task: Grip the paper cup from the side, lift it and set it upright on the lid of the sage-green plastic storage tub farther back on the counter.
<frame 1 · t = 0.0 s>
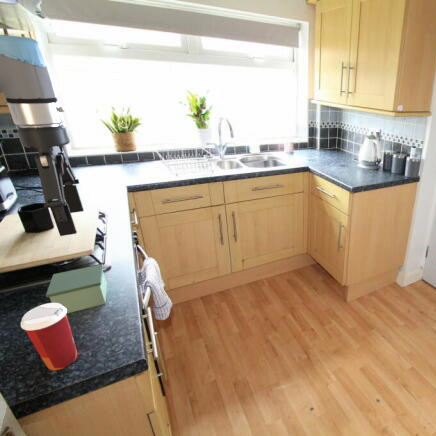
hand: (73, 222, 72), 30 cm above the worktop, tool pointing down, fingers open, 13 cm apart
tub: (83, 299, 94), on the worktop
paper cup: (62, 361, 74), on the worktop
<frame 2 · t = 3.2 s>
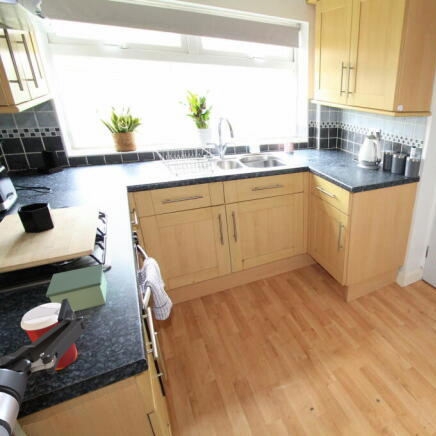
hand: (21, 316, 58), 20 cm above the worktop, tool horizontal, fingers open, 13 cm apart
nothing on the worktop moved.
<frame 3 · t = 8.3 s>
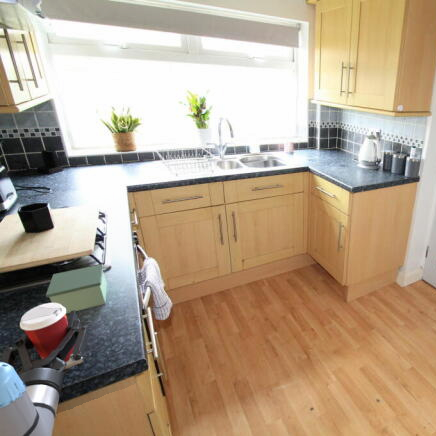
hand: (55, 320, 74), 8 cm above the worktop, tool horizontal, fingers closed on paper cup, 6 cm apart
paper cup: (62, 360, 74), on the worktop, touching gripper
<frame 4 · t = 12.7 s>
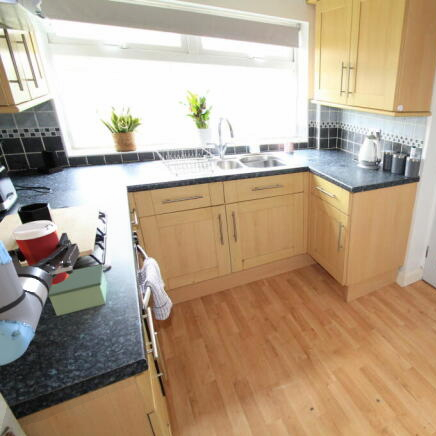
hand: (47, 240, 77), 24 cm above the worktop, tool horizontal, fingers closed on paper cup, 6 cm apart
paper cup: (54, 280, 76), point 16 cm above the worktop, touching gripper
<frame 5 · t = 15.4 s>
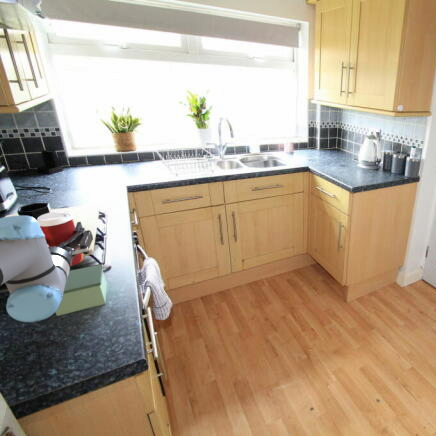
hand: (64, 228, 89), 21 cm above the worktop, tool horizontal, fingers closed on paper cup, 6 cm apart
paper cup: (70, 262, 88), point 13 cm above the worktop, touching gripper
when the fingers open (15 cm above the worktop, at t = 17.3 s): paper cup stays where it is, resting on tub.
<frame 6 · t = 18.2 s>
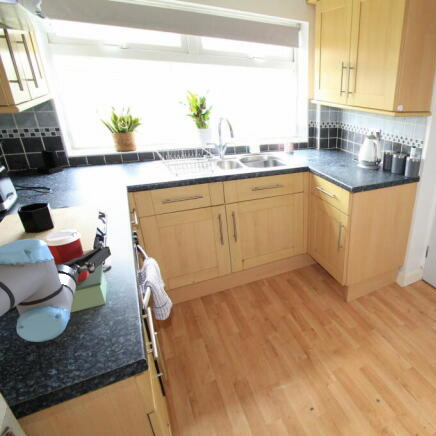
hand: (68, 246, 90), 16 cm above the worktop, tool horizontal, fingers open, 13 cm apart
paper cup: (76, 278, 91), point 7 cm above the worktop, touching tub
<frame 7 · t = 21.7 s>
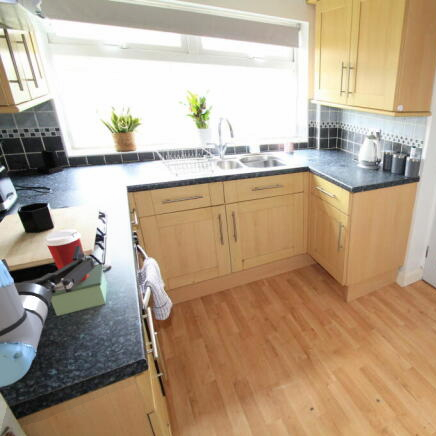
hand: (43, 257, 75), 21 cm above the worktop, tool horizontal, fingers open, 13 cm apart
nothing on the worktop moved.
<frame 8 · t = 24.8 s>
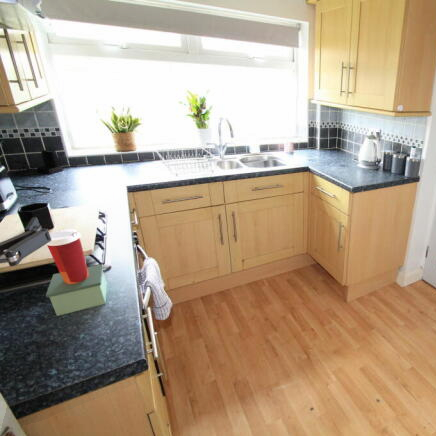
nothing on the worktop moved.
at the end: paper cup inside the target area on the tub (0.0 cm from its centre), point 7.3 cm above the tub's base; paper cup tilted 0°; the gripper is holding nothing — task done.
